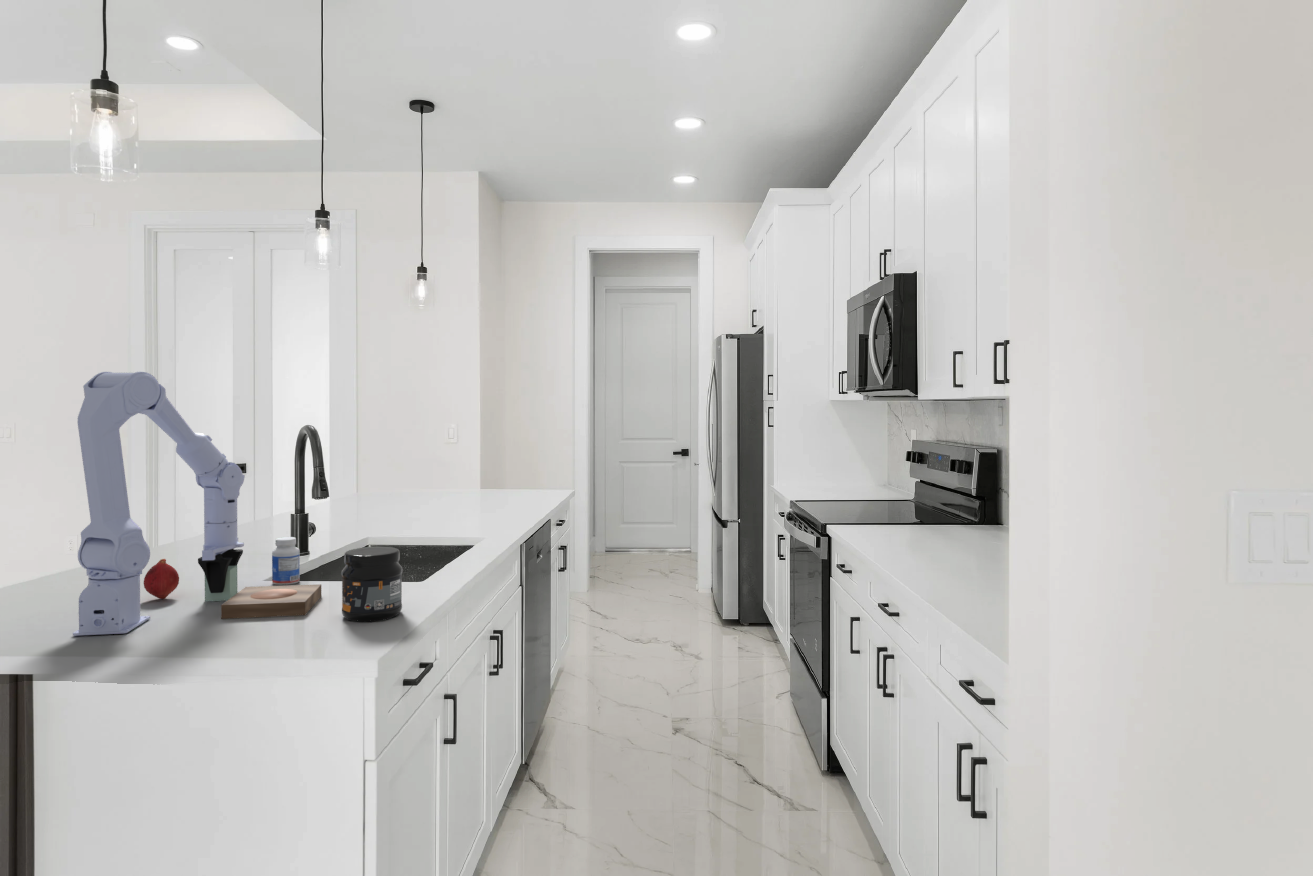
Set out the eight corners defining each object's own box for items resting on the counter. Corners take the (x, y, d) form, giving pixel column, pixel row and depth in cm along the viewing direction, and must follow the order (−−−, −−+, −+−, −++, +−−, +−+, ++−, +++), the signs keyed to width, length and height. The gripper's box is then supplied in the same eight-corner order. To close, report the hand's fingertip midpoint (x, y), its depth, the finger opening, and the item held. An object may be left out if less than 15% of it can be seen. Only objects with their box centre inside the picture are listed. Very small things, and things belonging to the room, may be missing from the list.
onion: (150, 604, 144) (150, 563, 144) (139, 599, 147) (138, 559, 147) (184, 598, 148) (183, 558, 148) (172, 594, 152) (172, 554, 152)
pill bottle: (272, 581, 164) (272, 537, 164) (299, 579, 167) (299, 535, 166) (271, 586, 159) (271, 541, 159) (299, 584, 162) (299, 539, 161)
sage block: (230, 600, 148) (229, 570, 147) (204, 601, 147) (204, 571, 146) (237, 594, 152) (237, 565, 152) (212, 595, 151) (212, 566, 151)
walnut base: (305, 615, 138) (305, 601, 138) (221, 618, 135) (221, 604, 135) (321, 596, 152) (321, 584, 151) (245, 599, 148) (245, 586, 148)
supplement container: (342, 610, 142) (342, 547, 141) (401, 606, 145) (401, 544, 145) (340, 625, 132) (340, 558, 131) (403, 620, 136) (403, 554, 135)
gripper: (230, 527, 143) (231, 597, 143) (253, 516, 157) (254, 580, 157) (189, 527, 141) (190, 599, 142) (216, 516, 155) (217, 581, 156)
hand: (221, 589), depth 149 cm, fingers closed on sage block, 4 cm apart
